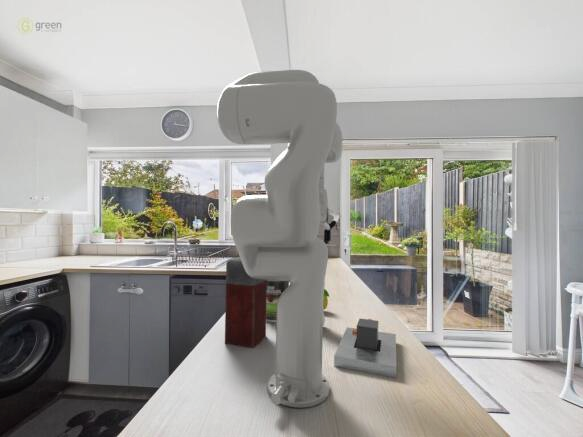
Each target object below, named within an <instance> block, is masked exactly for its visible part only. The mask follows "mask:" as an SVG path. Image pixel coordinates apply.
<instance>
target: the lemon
mask: <svg viewBox="0 0 583 437" xmlns="http://www.w3.org/2000/svg"><path fill="white" fill-rule="evenodd" d="M328 298H330V294H329V292H328V291H327V290H326V289H325V288H324V294H323V310H326V308H328V305H329V304H328Z"/></svg>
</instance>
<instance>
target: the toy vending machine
mask: <svg viewBox="0 0 583 437" xmlns="http://www.w3.org/2000/svg"><path fill="white" fill-rule="evenodd" d="M225 271H226V273H225V311H224V313H225V314H224V315H225V317H224V318H225V319H224V322H225V323H224V344H225V345H231V346H236V347H242V348H249V349H254V348H255V347H257V346H258V345H259V344H260V343H261V342H262V341H263V340H264V339H265V338H266V336H267V335H266V334H267V321H266V295H267V280H262V279H254V278H252V277H250V276H249V275H248V274H247V273H246V271H245V269H244V267H243V264H242V261H241V259H240V257H235V258H231V259H229V260H227V261H226V266H225Z"/></svg>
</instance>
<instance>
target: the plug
mask: <svg viewBox="0 0 583 437" xmlns="http://www.w3.org/2000/svg"><path fill="white" fill-rule="evenodd" d="M356 329H357V344H356V348H359V349H365V350H372V351H378V352H379V349H378V332H379V320H374V319H372V318H368V319H366V318H358V321H357V325H356Z"/></svg>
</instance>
